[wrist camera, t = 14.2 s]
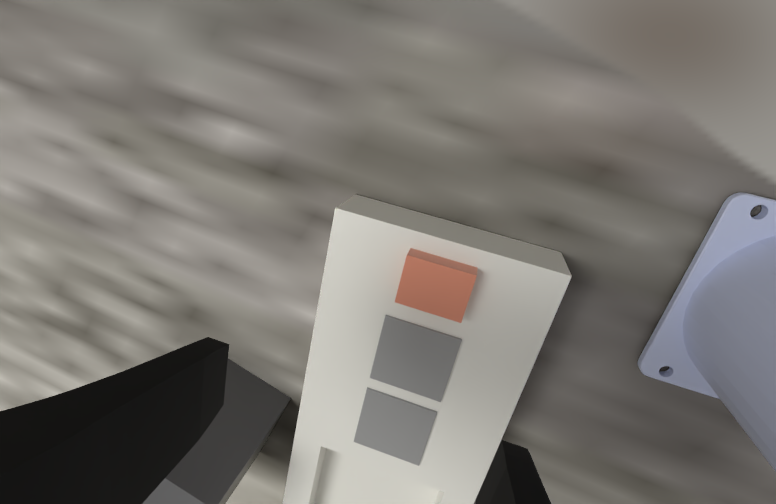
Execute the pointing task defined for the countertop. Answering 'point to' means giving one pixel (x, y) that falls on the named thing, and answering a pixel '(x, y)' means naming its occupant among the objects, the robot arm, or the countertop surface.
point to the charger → (225, 443)
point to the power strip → (416, 356)
